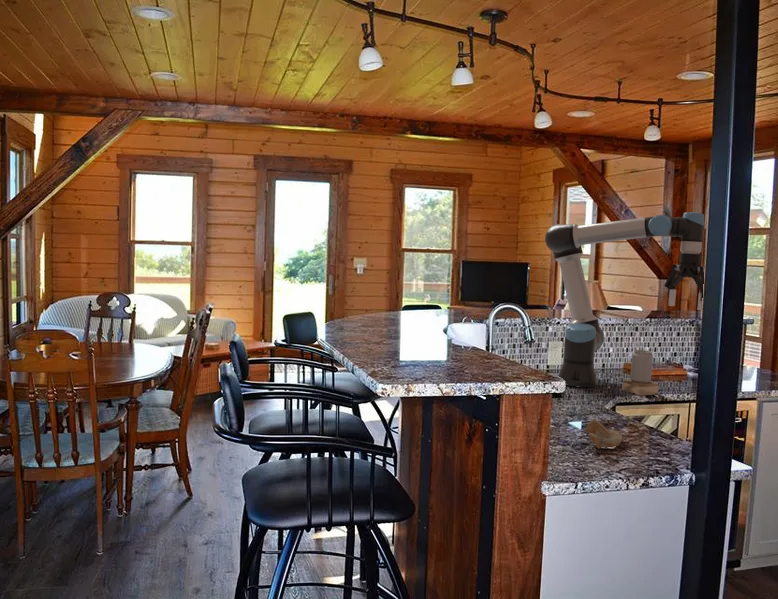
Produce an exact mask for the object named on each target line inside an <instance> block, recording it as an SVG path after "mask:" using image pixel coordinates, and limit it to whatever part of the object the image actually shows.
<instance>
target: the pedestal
mask: <svg viewBox="0 0 778 599" xmlns="http://www.w3.org/2000/svg"><path fill="white" fill-rule="evenodd" d="M623 390H626V391H625V392H627V391H628V392H627V393H630V392H631V393H630V394H633V393H635V394H634V395H636V396H641V397H642V396H650V395H651V396H652V395H653V396H654V395H658V394H659V393H658V392H659V383H657V382H655V381H650V382H649V383H636V382H633V381H632V380H631V379H623V381H622V391H623Z"/></svg>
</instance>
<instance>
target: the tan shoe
mask: <svg viewBox="0 0 778 599" xmlns="http://www.w3.org/2000/svg"><path fill="white" fill-rule="evenodd" d="M585 431H586V432H587V433H589V439H590V441H591V443H592V444H593V443H594V444H596V446H595V447H596V449H597V448H600V447H604V446H607V447H613V446H617V447H618V446H619V445H620V444H621V443H622V440H623V435H622V434H623V433H624V430H623V429H621V428H611V429H607V428H606V427H605V426H604V425H603V424H602V423H600V422H599V420H597V419H596V418H592V419H591V421H590V422H588V424H587V425H586V429H585ZM594 444H593V445H594Z"/></svg>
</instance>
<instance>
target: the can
mask: <svg viewBox="0 0 778 599" xmlns="http://www.w3.org/2000/svg"><path fill="white" fill-rule="evenodd" d="M653 360H654V355H652V351H650V350H644V349H635V350H634V352H633V353H631V365H630V366H631V367H630V374H629V375H630V377H629V378H630V379H629V380H632V381H633V382H636V383H649V382H652V373H653Z"/></svg>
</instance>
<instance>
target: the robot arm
mask: <svg viewBox="0 0 778 599" xmlns="http://www.w3.org/2000/svg"><path fill="white" fill-rule="evenodd" d="M704 228H705V215H704V213H702V212H693V211H692V212H686V211H685V212H684V213H683V215H682V216H681V217H680V216H679V217H678V216H677V217H676V216H673V217H672V216H667V215H665V214H664V215H663V214H657V215H655V216H654V215H653V216H647V217H646V216H645V217H638V218H632V219H623V220H615V221H605V222H600V223H598V222H597V223H592V224H584V225H583V224H582V225H578V224H577V223H572V224H563V223H558V224H554V225H552V226H550V227H549V228H548V229H547V231H546V232H545V236H544V243H545V245H546V247H547V248H548V249H549V250H550V251H552V253H553V257H554V260H555V261H556V262H557V263H559V267H560V272H561V276H562V280H563V286H564V289H565V293H566V297H567V303H568V307H569V312H570V317H571V320H570V322H569V323H568V325H567V326H566V327H565V331H564V346H563V361H562V365H561V368H560V371H559V374H558V375H557V377H558V376H559V377H561V378H563V379H564V380H565V381H566V383H567V384H568V386H567V387H573V386H580V387H579V388H594V387H596V386H597V382H598V380H597V376H596V371H595V368H594V361H595V352H598V350H600V349H601V347H602V346H603V344H604V341H605V335H604V331H603V330H602V328H601V327H600V324H599V318H598V317H597V316H595V315H594V314H593V309H592V306H591V300H590V296H589V292H588V286H587V283H586V278H585V274H584V268H583V264H582V261H581V258H582V256H583V254H584V252H583V248H582V246H585V245H593V244H601V243H609V242H617V241H626V240H628V241H629V240H635V239H642V238H653V237H673V238H674V237H675V238H677V237H678V238H680V240H681V241H680V249H679V251H680V253H679V259H678V260H679V264H673V265H672V267H671V268H672V269H671V271H670V273H669V274H668V275H669V276H668V277H667V279H666V281H665V284H664V288H667V290H668V291H667V292H668V293H667V297H668V306H669V307H675V306H676V297H677V296H676V295H677V289H676V287H677V286H678V285H679V284H680V282H681V281H682V280H683V279H684V278H691V279H693V281H694V283H695V285H696V286H697V288H698V289H699V291H700V292H698V300H697V308H696V310H697V311H703V310H702V298H703V284H704V269H705V267H706V266H700V264H701V261H702V260H701V259H702V254H701V253H702V250H703V248H702V247H703V239H704V236H703V235H704ZM569 385H570V386H569Z"/></svg>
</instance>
